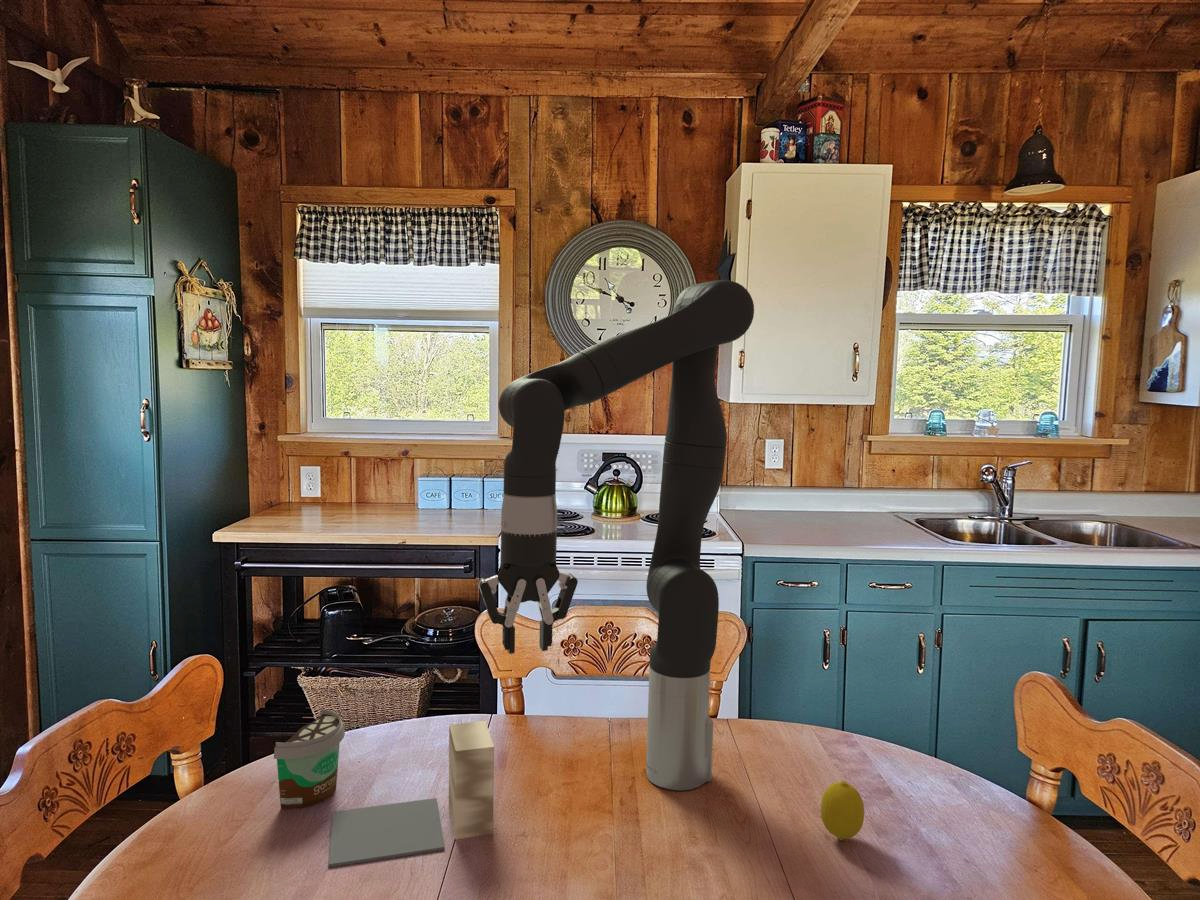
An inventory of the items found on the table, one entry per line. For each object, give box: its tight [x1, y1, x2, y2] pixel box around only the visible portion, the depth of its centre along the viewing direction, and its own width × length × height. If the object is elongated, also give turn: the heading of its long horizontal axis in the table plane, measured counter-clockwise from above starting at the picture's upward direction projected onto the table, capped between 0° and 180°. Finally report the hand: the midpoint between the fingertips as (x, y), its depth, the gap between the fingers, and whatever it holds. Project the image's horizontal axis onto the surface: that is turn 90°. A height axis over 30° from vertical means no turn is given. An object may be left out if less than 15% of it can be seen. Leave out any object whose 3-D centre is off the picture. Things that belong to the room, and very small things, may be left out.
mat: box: [328, 797, 446, 868], centre depth 101 cm, size 14×12×1 cm
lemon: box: [820, 780, 865, 840], centre depth 102 cm, size 6×6×8 cm
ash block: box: [448, 720, 495, 840], centre depth 104 cm, size 5×8×12 cm, turn 17°
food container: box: [273, 708, 346, 810], centre depth 110 cm, size 12×6×10 cm, turn 168°
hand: (527, 649), depth 105 cm, fingers open, 4 cm apart
